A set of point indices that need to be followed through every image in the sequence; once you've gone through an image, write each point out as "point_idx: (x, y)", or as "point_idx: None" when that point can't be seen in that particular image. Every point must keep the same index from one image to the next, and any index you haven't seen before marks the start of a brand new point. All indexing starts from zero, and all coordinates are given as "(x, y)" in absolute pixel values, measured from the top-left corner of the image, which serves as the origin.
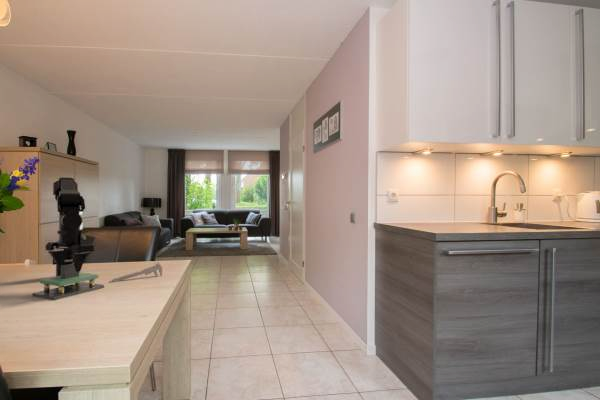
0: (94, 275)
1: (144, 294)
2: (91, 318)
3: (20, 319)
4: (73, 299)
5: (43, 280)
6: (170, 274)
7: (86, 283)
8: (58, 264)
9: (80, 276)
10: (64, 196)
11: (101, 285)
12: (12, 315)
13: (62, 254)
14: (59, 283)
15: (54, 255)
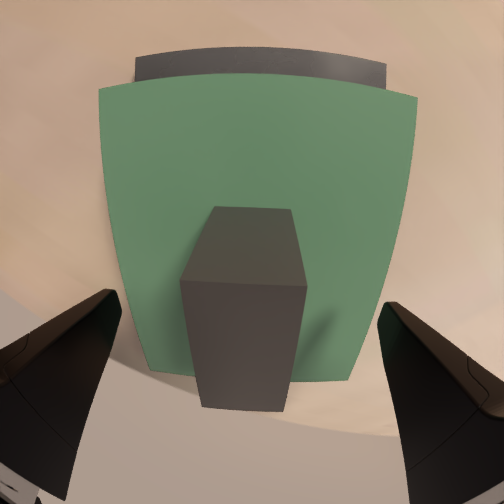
0: (411, 137)
1: None
2: None
3: (389, 423)
4: (406, 306)
5: (186, 374)
6: None
7: (206, 68)
8: (103, 369)
9: (319, 216)
10: None
11: (382, 80)
12: (347, 425)
13: (21, 419)
14: (344, 377)
15: (69, 463)
